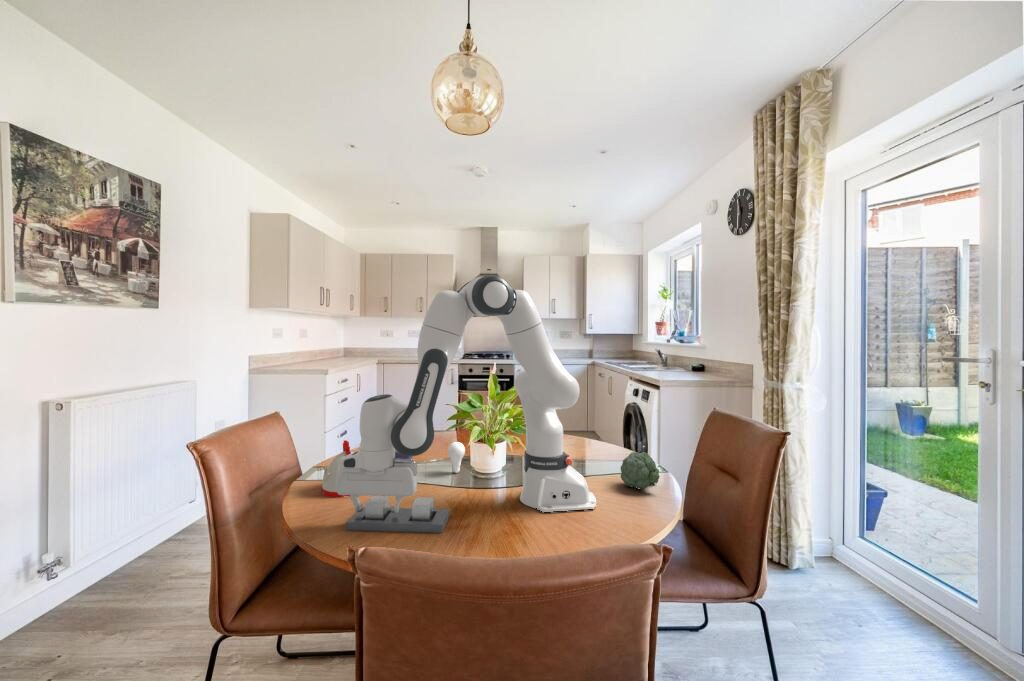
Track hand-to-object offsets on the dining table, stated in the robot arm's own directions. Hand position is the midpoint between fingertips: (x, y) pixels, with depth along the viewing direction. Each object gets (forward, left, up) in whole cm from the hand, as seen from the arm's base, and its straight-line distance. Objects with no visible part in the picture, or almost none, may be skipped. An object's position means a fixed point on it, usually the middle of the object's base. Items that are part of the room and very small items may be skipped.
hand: (376, 511), depth 104 cm
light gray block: (-12, 0, -3) cm, 12 cm away
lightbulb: (-14, -39, -3) cm, 42 cm away
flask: (+4, -33, -3) cm, 34 cm away
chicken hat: (+18, -22, -3) cm, 29 cm away
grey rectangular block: (0, 0, -3) cm, 3 cm away
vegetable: (-76, -30, -3) cm, 82 cm away
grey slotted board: (-6, 0, -3) cm, 7 cm away
